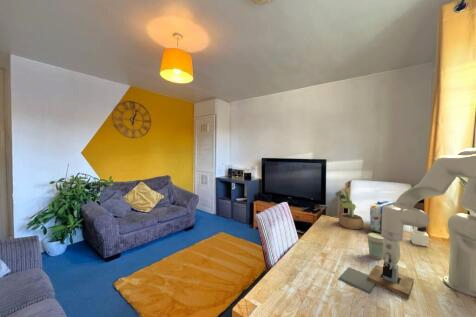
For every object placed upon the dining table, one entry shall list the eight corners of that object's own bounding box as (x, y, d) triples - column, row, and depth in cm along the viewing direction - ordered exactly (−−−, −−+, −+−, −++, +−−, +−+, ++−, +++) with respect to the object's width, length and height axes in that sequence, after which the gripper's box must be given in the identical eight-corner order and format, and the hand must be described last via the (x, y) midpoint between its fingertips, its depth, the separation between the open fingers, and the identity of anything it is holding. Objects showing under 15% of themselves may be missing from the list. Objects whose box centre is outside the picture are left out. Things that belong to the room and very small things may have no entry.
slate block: (397, 282, 86) (398, 265, 86) (395, 287, 83) (396, 269, 83) (385, 277, 90) (385, 260, 89) (382, 282, 87) (383, 264, 86)
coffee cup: (388, 262, 102) (389, 239, 102) (370, 260, 104) (371, 238, 103) (380, 253, 111) (381, 233, 110) (363, 252, 112) (364, 231, 112)
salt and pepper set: (425, 242, 125) (425, 224, 124) (428, 247, 119) (429, 227, 118) (410, 239, 128) (411, 222, 128) (412, 244, 122) (413, 225, 122)
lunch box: (383, 237, 132) (384, 205, 131) (367, 231, 141) (368, 201, 140) (399, 228, 147) (400, 200, 146) (383, 224, 155) (384, 197, 155)
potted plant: (344, 220, 164) (345, 185, 163) (367, 227, 150) (369, 188, 148) (329, 225, 152) (330, 187, 150) (353, 234, 137) (354, 192, 136)
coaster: (377, 280, 88) (377, 278, 88) (369, 293, 80) (369, 291, 80) (348, 268, 96) (348, 266, 96) (339, 279, 89) (339, 277, 88)
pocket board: (413, 283, 86) (413, 278, 86) (408, 299, 77) (408, 294, 77) (375, 268, 96) (375, 264, 96) (367, 281, 87) (367, 276, 87)
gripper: (398, 243, 77) (396, 285, 78) (406, 232, 89) (404, 268, 89) (376, 237, 83) (374, 276, 83) (385, 227, 94) (384, 261, 95)
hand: (389, 272), depth 86 cm, fingers open, 9 cm apart
